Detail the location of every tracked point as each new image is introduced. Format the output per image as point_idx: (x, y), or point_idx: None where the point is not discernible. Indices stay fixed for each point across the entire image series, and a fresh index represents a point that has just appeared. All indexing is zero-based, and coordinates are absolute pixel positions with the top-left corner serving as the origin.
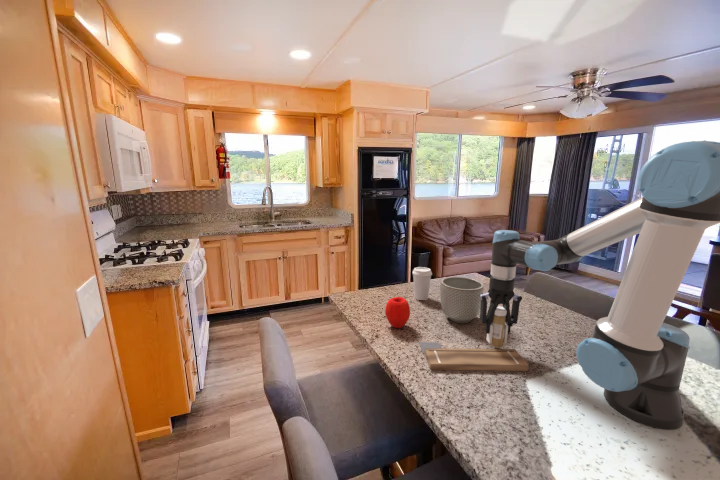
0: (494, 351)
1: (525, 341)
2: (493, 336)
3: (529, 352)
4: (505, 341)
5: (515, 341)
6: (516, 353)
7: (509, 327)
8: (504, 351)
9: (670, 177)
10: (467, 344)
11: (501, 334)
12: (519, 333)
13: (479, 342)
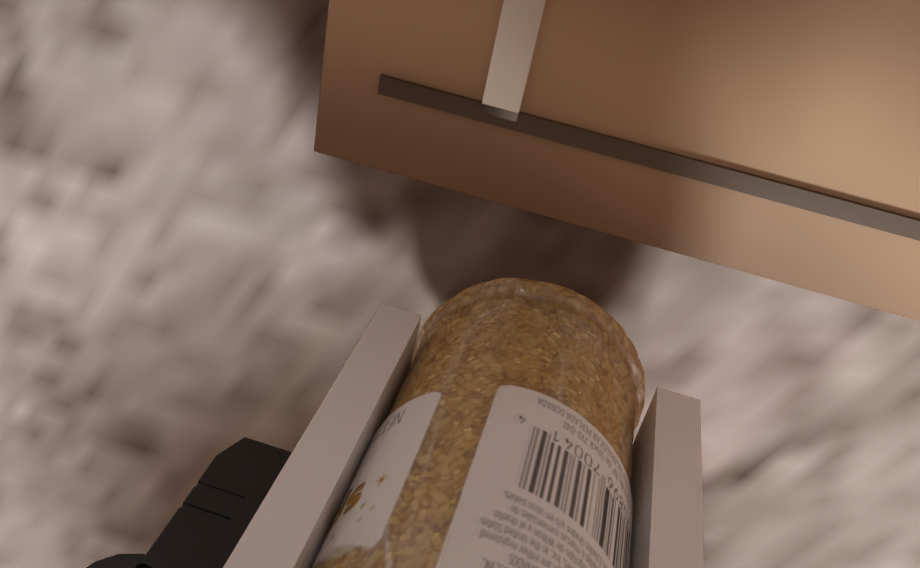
0: (779, 179)
1: (12, 344)
2: (622, 487)
3: (80, 103)
4: (389, 335)
5: (141, 383)
6: (373, 2)
7: (176, 558)
8: (569, 125)
9: None
10: (900, 541)
11: (467, 456)
12: (9, 493)
13: None
